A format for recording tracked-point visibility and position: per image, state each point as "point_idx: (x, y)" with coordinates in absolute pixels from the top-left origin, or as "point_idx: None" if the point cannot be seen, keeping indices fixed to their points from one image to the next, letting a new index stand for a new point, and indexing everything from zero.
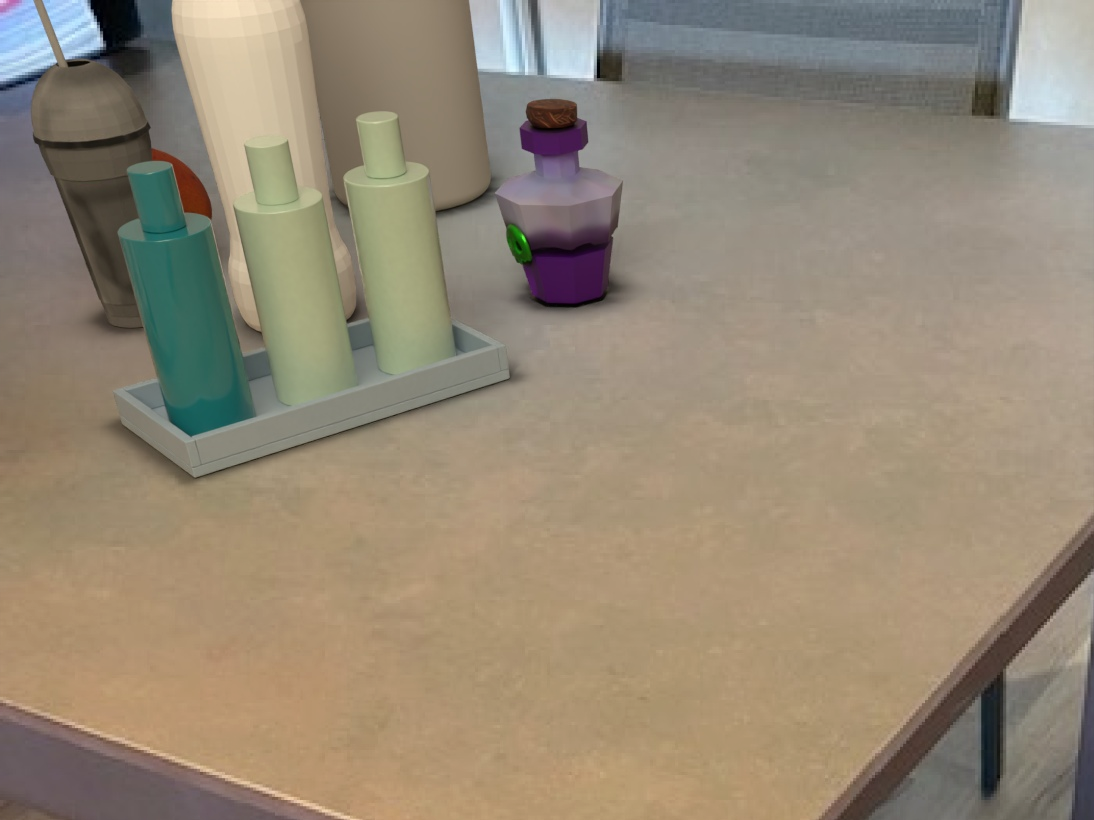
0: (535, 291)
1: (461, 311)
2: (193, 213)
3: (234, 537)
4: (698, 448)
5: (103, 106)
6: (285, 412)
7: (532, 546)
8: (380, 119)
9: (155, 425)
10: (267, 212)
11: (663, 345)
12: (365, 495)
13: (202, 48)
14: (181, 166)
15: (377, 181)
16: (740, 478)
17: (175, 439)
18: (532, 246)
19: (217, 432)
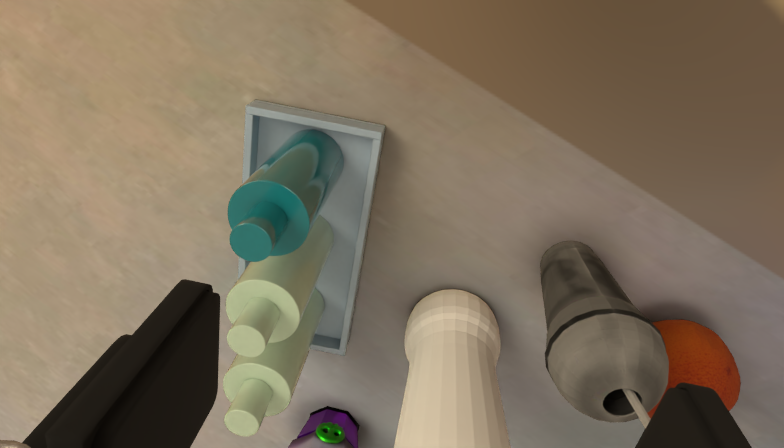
0: (339, 414)
1: (366, 378)
2: (281, 254)
3: (150, 57)
4: (80, 305)
5: (561, 369)
6: (242, 182)
7: (22, 165)
8: (230, 419)
9: (302, 115)
10: (235, 287)
11: (220, 395)
12: (150, 153)
13: (433, 444)
14: (650, 414)
15: (241, 375)
16: (32, 289)
17: (266, 108)
18: (314, 432)
19: (245, 131)
